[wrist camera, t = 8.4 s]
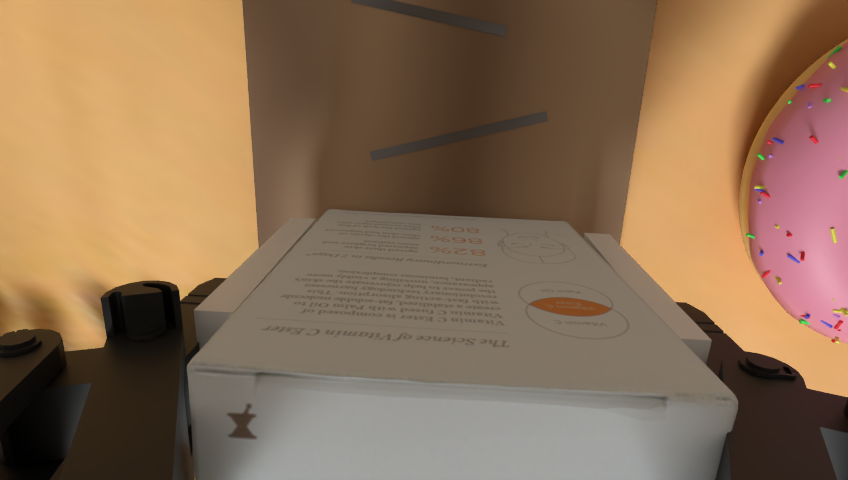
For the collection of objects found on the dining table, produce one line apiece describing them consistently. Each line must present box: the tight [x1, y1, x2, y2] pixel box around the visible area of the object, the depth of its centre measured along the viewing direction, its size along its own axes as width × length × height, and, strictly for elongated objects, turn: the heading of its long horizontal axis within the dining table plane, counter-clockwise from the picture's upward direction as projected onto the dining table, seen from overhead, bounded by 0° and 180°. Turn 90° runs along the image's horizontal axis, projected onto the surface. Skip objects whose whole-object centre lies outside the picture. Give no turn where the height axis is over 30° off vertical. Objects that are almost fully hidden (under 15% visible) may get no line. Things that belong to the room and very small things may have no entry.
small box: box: [187, 209, 738, 480], centre depth 13 cm, size 8×6×10 cm
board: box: [242, 0, 657, 248], centre depth 18 cm, size 12×20×2 cm, turn 178°
